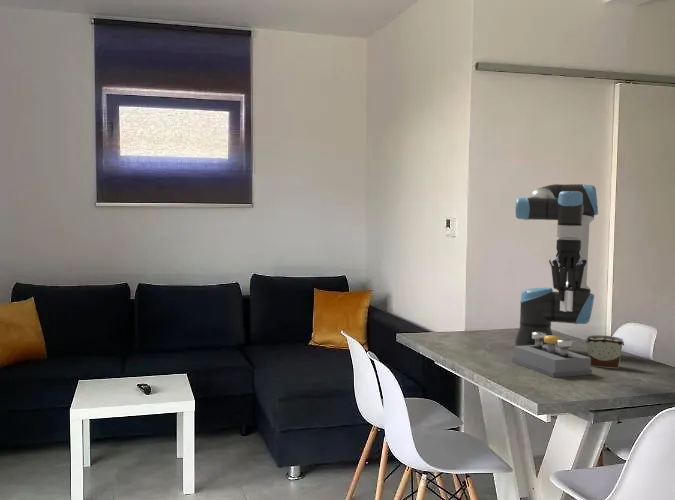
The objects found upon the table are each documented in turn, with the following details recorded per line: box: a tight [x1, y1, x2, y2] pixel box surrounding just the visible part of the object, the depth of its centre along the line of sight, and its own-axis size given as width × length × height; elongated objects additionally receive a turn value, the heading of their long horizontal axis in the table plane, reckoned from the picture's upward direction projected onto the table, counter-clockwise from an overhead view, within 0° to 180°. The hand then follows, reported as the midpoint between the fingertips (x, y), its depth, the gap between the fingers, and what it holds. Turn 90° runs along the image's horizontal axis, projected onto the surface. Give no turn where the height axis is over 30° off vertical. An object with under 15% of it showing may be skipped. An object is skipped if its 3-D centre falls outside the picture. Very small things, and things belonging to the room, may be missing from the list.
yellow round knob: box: [544, 334, 560, 355], centre depth 231 cm, size 5×5×6 cm
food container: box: [585, 334, 625, 369], centre depth 237 cm, size 12×6×10 cm, turn 71°
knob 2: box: [556, 338, 574, 358], centre depth 224 cm, size 5×5×6 cm
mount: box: [511, 345, 593, 378], centre depth 231 cm, size 15×23×6 cm, turn 19°
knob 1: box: [532, 332, 546, 350], centre depth 237 cm, size 5×5×6 cm
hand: (566, 310), depth 223 cm, fingers closed
